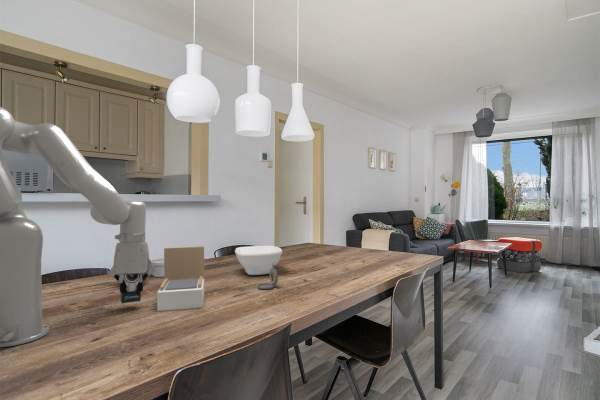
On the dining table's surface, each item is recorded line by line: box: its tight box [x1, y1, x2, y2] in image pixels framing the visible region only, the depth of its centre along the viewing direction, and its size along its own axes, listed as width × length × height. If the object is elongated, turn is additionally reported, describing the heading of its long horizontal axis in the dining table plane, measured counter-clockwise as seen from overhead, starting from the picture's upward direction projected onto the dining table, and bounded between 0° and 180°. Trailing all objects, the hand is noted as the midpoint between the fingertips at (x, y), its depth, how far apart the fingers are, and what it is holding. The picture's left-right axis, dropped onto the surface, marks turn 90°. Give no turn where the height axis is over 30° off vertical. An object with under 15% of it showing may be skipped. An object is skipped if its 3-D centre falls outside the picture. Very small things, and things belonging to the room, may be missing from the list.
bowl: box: [234, 245, 284, 276], centre depth 157 cm, size 22×22×12 cm
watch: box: [120, 273, 142, 304], centre depth 109 cm, size 6×8×11 cm
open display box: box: [156, 246, 205, 312], centre depth 116 cm, size 16×14×18 cm
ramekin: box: [150, 257, 164, 278], centre depth 156 cm, size 13×13×7 cm
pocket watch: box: [257, 262, 279, 290], centre depth 133 cm, size 8×8×10 cm
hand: (131, 293), depth 109 cm, fingers closed on watch, 3 cm apart
